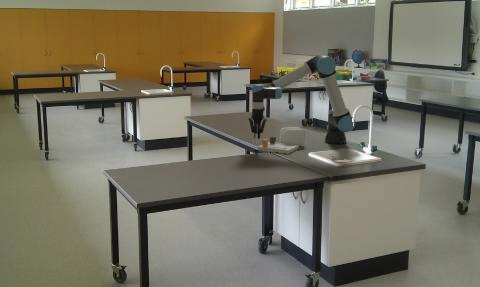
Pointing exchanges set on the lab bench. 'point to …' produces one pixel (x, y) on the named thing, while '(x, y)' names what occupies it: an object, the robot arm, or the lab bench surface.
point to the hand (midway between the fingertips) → (257, 143)
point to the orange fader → (265, 142)
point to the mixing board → (279, 147)
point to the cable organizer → (292, 136)
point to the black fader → (272, 139)
